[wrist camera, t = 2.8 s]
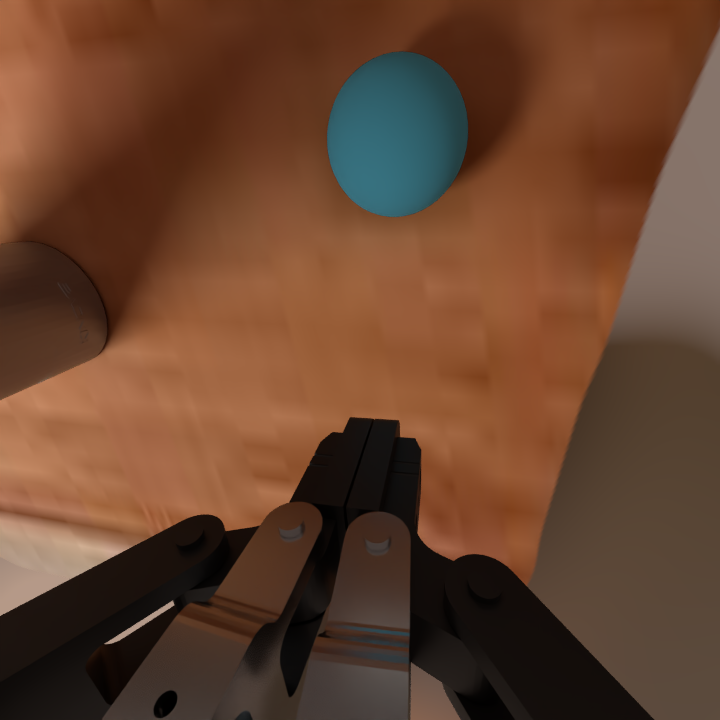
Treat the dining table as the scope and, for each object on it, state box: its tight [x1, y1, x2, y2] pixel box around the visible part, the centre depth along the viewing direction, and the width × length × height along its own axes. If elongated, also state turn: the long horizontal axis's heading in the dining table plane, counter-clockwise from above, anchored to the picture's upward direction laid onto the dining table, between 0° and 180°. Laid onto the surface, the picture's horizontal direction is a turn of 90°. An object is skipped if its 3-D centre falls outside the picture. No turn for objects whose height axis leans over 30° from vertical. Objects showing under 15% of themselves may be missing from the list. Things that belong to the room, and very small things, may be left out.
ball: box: [327, 52, 468, 217], centre depth 15 cm, size 6×6×6 cm
